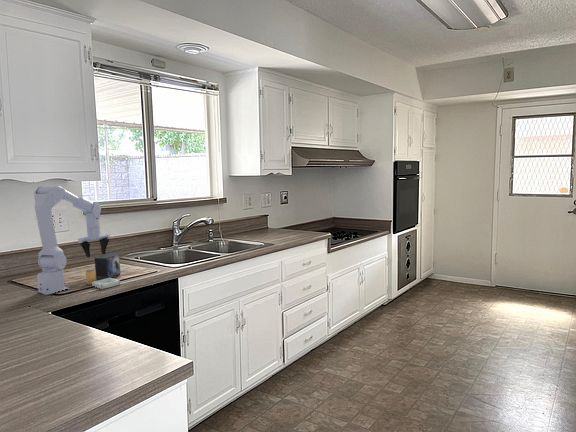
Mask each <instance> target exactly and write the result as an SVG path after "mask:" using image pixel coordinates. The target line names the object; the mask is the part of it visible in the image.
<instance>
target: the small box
mask: <svg viewBox="0 0 576 432" xmlns="http://www.w3.org/2000/svg"><path fill="white" fill-rule="evenodd" d="M94 270H96V281H98V280H102V279H106V278H113V277H114V278H116V277H119V276H121V275H120V274H121V264H120V254H119V253H111V252H110V253H108V252H107V253H105V254H102V255H99V256H97V257H94ZM118 275H119V276H118ZM115 276H116V277H115ZM114 278H113V279H114Z"/></svg>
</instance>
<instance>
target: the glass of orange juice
mask: <svg viewBox="0 0 576 432" xmlns="http://www.w3.org/2000/svg"><path fill="white" fill-rule="evenodd" d="M85 277H86V278H85V279H86V285H87V284H92V282H94V281H97V280H96V270H95V268H88V269H86V270H85Z"/></svg>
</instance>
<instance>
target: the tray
mask: <svg viewBox="0 0 576 432" xmlns="http://www.w3.org/2000/svg"><path fill="white" fill-rule="evenodd" d="M120 285H121V280H119V279H116V278H106V279H102V280H96V281H94V282H92V285H91V287H92V286H95V287H94V288H96V287H97V288H96V289H99V288H100V290H105V289H109V288H113V287H118V286H120Z"/></svg>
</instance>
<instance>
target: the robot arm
mask: <svg viewBox="0 0 576 432" xmlns="http://www.w3.org/2000/svg"><path fill="white" fill-rule="evenodd" d="M33 196H34V197H33V198H34V201H35V202H34V211H35V215H36V222H37V226H38V230H39V236H40V241H41V242H40V243H41V246H42V249H41V250H40V251H39V252H38V254H37V256H38V259H37V263H38V266H39V268H40V269H41V272H39V273H37V276H36V279H37V280H36V281H37V288H38V289H37V293H40V294H42V295H45V296H46V295H52V294H55V292H56V293H58V291H60V292H63V291H62V290H64V291H66V290H65V289H68V290H70V288H69V287H67V286H65V276H64V270H65V267H66V266H67V263H68V262H67V261H68V259H67V257H66V256H65V254H64V250H63V249H62V248H60V247H59V246H58V241H57V237H56V230H55V223H54V218H53V215H52V209H53V207H55V206H56V205H58V203H60V202H61V201H62V200H63V201H66V202H69V203H72V206H73V207H74V208H76V209H78V210H80V211H82V213H83V214H84V215H85V223H86V233H87V234H86V235H87V236H84V237H81V238H78V239H77V241H78V243H79V245H80V246H81V247H82V249H83V251H84V254H85V257H86V258H90V257H91V252H90V250H91V249H90V248H91V247H90V245H91V243H90V242H92V241H98V242H99V244H100V251H101V254H102V255H105V254H106V252H107V247H108V244H109V242H110V238H111V234H109V233H105V234H101V225H100V223H101V222H100V217H101V211H102V206H101V204H100V203H98V202H97V201H92V199H89V198H86V197H85V196H84V195H83V194H82V195H81V194H80V195H75V194H73V193H72V192H70V191H68V190H66V189H65V187H62V186H60V185H52V186H51V185H50V186H49V185H48V186H47V185H46V186H44V185H39V186H38V187H37V188H36V189H35V190H34V192H33Z"/></svg>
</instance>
